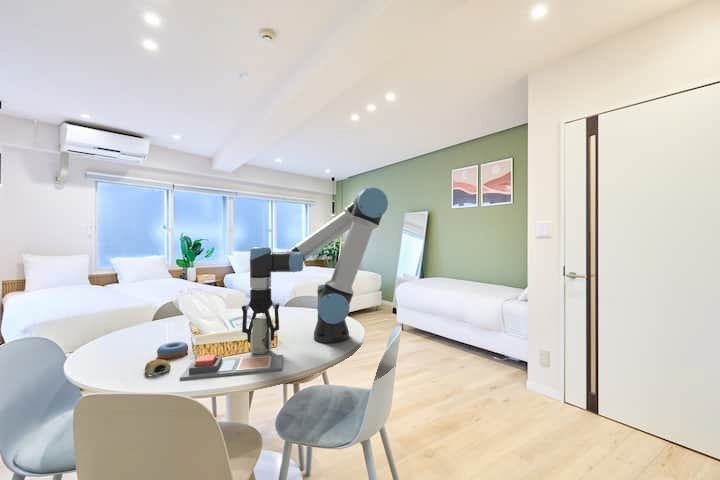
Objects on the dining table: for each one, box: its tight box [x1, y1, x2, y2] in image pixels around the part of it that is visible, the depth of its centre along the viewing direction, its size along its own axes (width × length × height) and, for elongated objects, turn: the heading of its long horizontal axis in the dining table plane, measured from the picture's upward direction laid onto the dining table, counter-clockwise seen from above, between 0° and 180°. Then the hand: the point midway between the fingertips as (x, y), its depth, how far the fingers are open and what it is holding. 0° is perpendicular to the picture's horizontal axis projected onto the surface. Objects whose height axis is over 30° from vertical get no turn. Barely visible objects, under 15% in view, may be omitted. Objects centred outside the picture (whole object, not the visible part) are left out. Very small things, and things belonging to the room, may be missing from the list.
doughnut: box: [156, 341, 189, 360], centre depth 116 cm, size 10×10×5 cm
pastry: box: [144, 358, 171, 376], centre depth 103 cm, size 9×7×4 cm
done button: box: [195, 354, 217, 366], centre depth 102 cm, size 5×5×2 cm
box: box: [252, 316, 270, 355], centre depth 118 cm, size 5×4×13 cm
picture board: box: [179, 354, 284, 381], centre depth 104 cm, size 30×12×3 cm, turn 103°
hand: (261, 349), depth 118 cm, fingers closed on box, 6 cm apart
